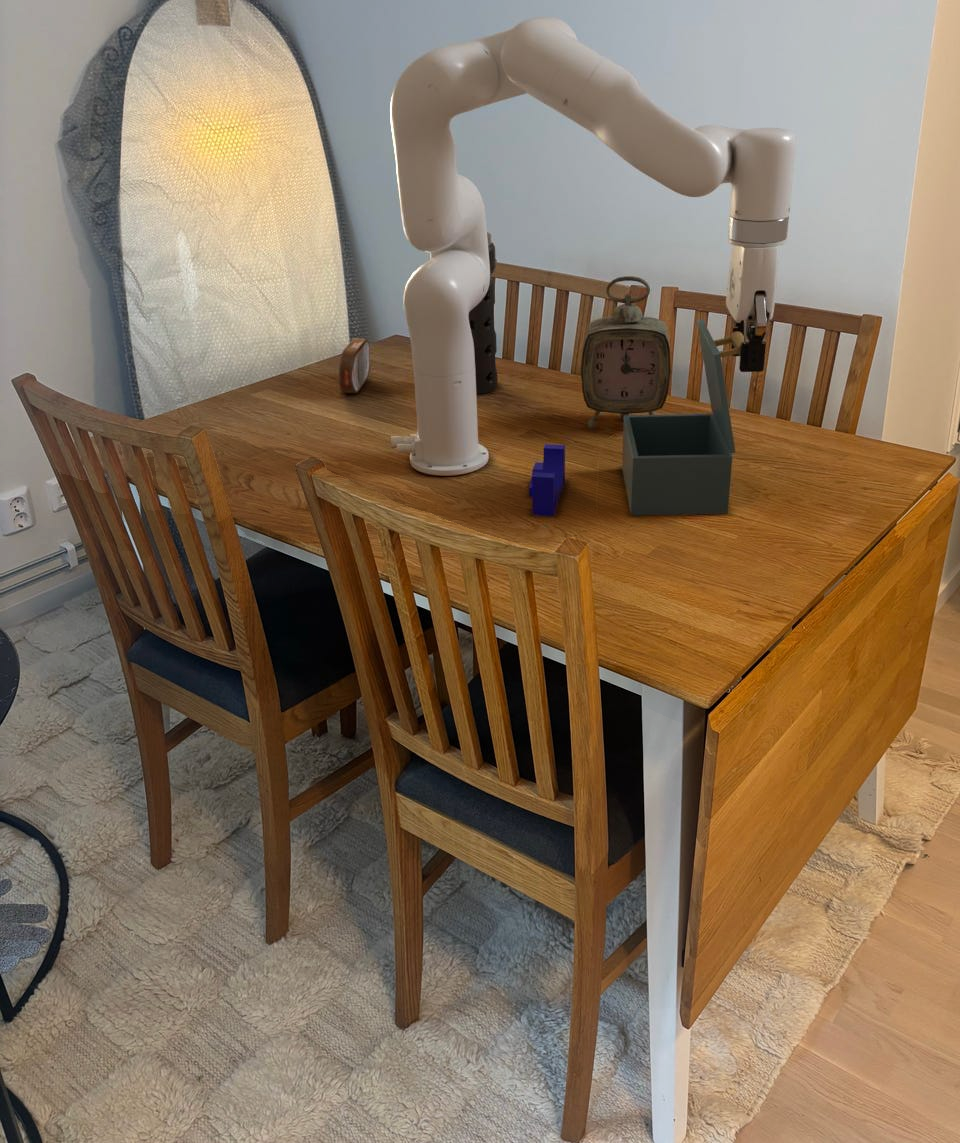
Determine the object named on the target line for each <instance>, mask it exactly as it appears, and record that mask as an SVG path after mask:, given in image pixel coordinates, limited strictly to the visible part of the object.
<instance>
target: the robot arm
mask: <svg viewBox="0 0 960 1143" xmlns="http://www.w3.org/2000/svg"><path fill="white" fill-rule="evenodd" d="M526 94H528V95H529V96H531V97H533V98H534V99H536V100H538V101H539V102H541V103H543V104H544V105H546V106H548V107H549V108H551V109H552V110H554V111H556V112H557V113H559V114H562V115H563V116H564V117H565V118H567V119H569V120H571V121H572V122H574V123H576V124H577V125H578V126H581V127H583V128H584V129H585V130H587V131H589V133H592V134H593V135H595V136H596V137H597V138H598V139H599V140H600V142H601V143H603V144H604V145H605V146H606V147H608V148H609V149H610V150H612V151H613V152H614V153H615V154H617V156H619V157H620V158H621V159H623V160H624V161H625V162H626V163H628V164H629V165H630V166H632V167H633V168H634V169H637V170H638V171H639V172H641V173H642V174H644V175H646V176H647V177H648V178H651V179H652V180H654V181H656V182H657V183H659V184H661V185H662V186H664V187H666V188H667V189H669V190H671V191H673V192H675V193H676V194H679V195H682V196H685V197H688V198H700V197H705V196H707V195H710V194H711V193H713V192H714V191H715V190H717V189H718V188H719V187H720V186H721V185H724V184H730V185H731V193H730V206H729V219H728V220H729V223H728V236H727V242H728V243H729V245H732V249H731V254H730V261H729V270H728V277H727V278H728V280H727V289H726V297H725V307H726V308H727V310H728V312H729V314H730V315H731V317H732V318H733V327H732V333H733V332H736V331H739V332H741V333H742V335H743V336H744V342H741V353H740V356H739V355H738V354H735V355H731V356H732V357H739V367H738V369H739V371H740V373H760V372H761V373H762V372H763V371H764V369H765V360H766V349H767V325H768V323H769V322H771V320H772V319H773V317H774V313H775V312H774V311H775V304H776V293H777V280H778V264H779V247H780V246H783V245H785V244H787V241H788V230H789V220H790V211H791V210H790V209H791V198H792V190H793V189H792V188H793V180H794V169H795V159H796V148H797V147H796V146H797V139H796V136H795V134H794V133H793V132H792V131H791V130H789V129H785V128H780V127H779V128H778V127H757V128H749V129H742V128H734V127H727V126H722V125H721V126H720V125H713V124H708V125H707V124H706V125H700V126H698V127H695V128H693V127H691V126H689V125H688V124H687V123H685V122H683V121H681V120H679V119H678V118H677V117H675V116H673V115H671V114H670V113H669V112H667V111H665V110H664V109H662V108H661V107H660V106H659V105H657V104H656V103H655V102H654V101H652V99H650V98H649V97H648V96H647V94H646V93H645V92H644V91H643V89H642V88H641V86H640V85H639V83H638V81H637V80H636V78H635V77H634V76H633V75H632V73H630V72H629V71H628V70H627V69H626V68H624V67H623V66H621V65H619V64H618V63H616V62H615V61H612V60H610V59H609V58H608V57H605V56H604V55H602V54H601V53H598V52H597V51H596V50H594V49H593V48H591V47H589V46H587V45H586V44H584V43H582V42H580V41H579V39H578V37H577V35H576V33H575V32H574V29H572V27H571V26H570V25H569V24H568V23H567V22H565V21H564V20H561V19H560V18H557V17H554V16H540V17H533V18H528V19H526V20H523V21H521V22H518V24H516V25H514V27H513V28H510V29H508V30H504V31H501V32H498V33H495V34H492V35H488V36H484V37H481V38H478V39H475V40H474V39H473V40H471V41H468V42H462V43H458V44H456V43H455V44H449V45H448V44H447V45H443V46H440V47H438V48H435V49H432V50H430V51H428V52H426V53H424V54H423V55H421V56H419V57H418V58H416V59H415V60H413V62H412V63H410V64H409V65H408V66H407V67H406V68H405V69H404V71H403V72H402V73H401V75H400V76H399V78H398V79H397V81H396V82H395V85H394V87H393V90H392V95H391V98H390V106H389V112H390V113H389V114H390V115H389V116H390V126H391V134H392V135H391V136H392V142H393V150H394V156H395V157H394V158H395V168H396V169H395V170H396V178H397V179H396V180H397V187H398V196H399V204H400V216H401V224H402V228H403V232H404V235H405V237H406V239H407V241H408V242H409V243H410V245H411V246H412V247H414V248H415V249H417V250H418V251H420V252H425V253H429V254H430V255H429V256H430V259H429V260H427V261H426V262H425V263H422V264H421V265H420V266H419V267H418V268H416V269H415V271H414V272H413V273H412V274H411V275H410V276H409V278H408V280H407V282H406V284H405V288H404V290H403V291H404V292H403V311H404V316H405V319H406V324H407V328H408V333H409V339H410V340H409V341H410V348H411V358H412V360H411V361H412V369H413V381H414V383H413V384H414V396H415V397H414V398H415V409H416V410H415V412H416V425H417V430H416V433H411V434H410V436H403V435H394V436H390V447H391V449H396V453H399V454H400V453H401V454H404V453H410V454H409V463H410V466H411V467H412V468H413V469H414V470H416V471H418V472H420V473H422V474H426V475H431V476H440V477H441V476H442V477H448V476H449V477H451V476H460V475H466V474H470V473H473V472H475V471H477V470H481V469H482V468H483V467H484V466H486V464H488V462H489V459H490V458H489V455H490V454H489V451H488V449H487V448H486V447H485V446H484V445H482V444H480V443H479V427H478V426H479V425H478V404H477V403H478V401H477V400H478V399H477V395H476V373H475V354H474V343H473V337H472V333H471V329H470V324H469V312H470V311H471V310H472V309H473V308H474V307H475V306H477V305H478V304H479V303H480V302H481V301H482V299H483V298H484V297H485V295H486V293H487V291H488V288H489V283H490V263H489V251H488V239H487V232H488V229H487V217H486V209H485V204H484V201H483V197H482V194H481V193H480V191H479V189H478V188H477V186H476V184H474V183H473V181H471V180H470V179H469V178H468V177H466V176H464V175H462V174H459V173H458V166H457V153H456V145H455V142H454V138H453V134H452V132H451V127H450V125H451V121H452V119H453V118H454V117H457V116H458V115H461V114H464V113H467V112H471V111H473V110H476V109H479V108H482V107H486V106H489V105H491V104H495V103H498V102H501V101H506V100H509V99H512V98H516V97H519V96H523V95H526ZM733 348H734V346H733V344H732V343H731V347H730V349H733Z"/></svg>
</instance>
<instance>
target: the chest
mask: <svg viewBox="0 0 960 1143" xmlns="http://www.w3.org/2000/svg"><path fill="white" fill-rule="evenodd" d="M622 426H623V429H622V456H621V457H622V460H621V470H622V475H623V481H624V485H625V491H626V495H627V501H628V506H629V511H630V516H680V515H681V516H682V515H683V516H685V515H689V516H690V515H728V514H729V502H730V492H731V481H732V480H731V479H732V468H733V453H731V454H730V453H729V450H728V448H727V445H726V443H725V441H724V438H723V436H722V434H721V431H720V429H719V427H718V424H717V422H716V419H715V417H714V415H713V413H677V414H676V413H675V414H674V413H673V414H670V413H668V414H654V415H650V414H629V415H624V419H623V424H622Z"/></svg>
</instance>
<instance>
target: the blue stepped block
mask: <svg viewBox="0 0 960 1143" xmlns="http://www.w3.org/2000/svg"><path fill="white" fill-rule="evenodd" d="M565 483H566V445H565V444H548V443H546V444H544V446H543V461H542V462H541V461H537V462H535V463H534V465H533V468H532V471H531V478H530V484H529V488H528V497H529V498H532V503H531V504H532V516H542V517H543V516H544V517H546V516H547V517H554V516H555V513H556V510H557V506H558V505H559V504H558V503H559V501H560V498H561V495H562V491H563V489H564V486H565Z"/></svg>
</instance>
